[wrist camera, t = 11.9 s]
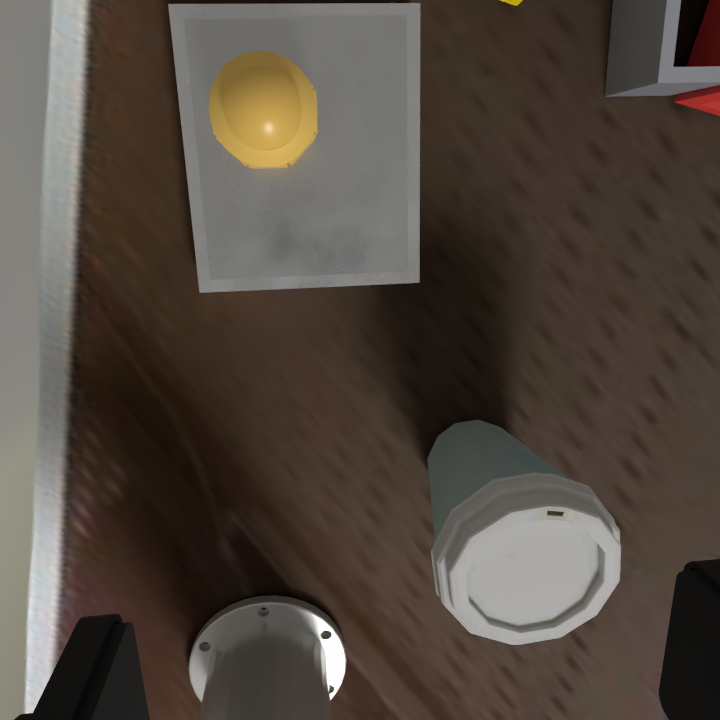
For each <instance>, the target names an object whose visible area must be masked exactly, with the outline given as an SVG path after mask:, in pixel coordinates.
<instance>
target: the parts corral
mask: <svg viewBox="0 0 720 720" xmlns="http://www.w3.org/2000/svg"><path fill="white" fill-rule="evenodd" d="M680 5H681V0H613V8H612V19H611V31H610V42H609V54H608V65H607V76H606V88H605V97H611V96H667V95H677V94H681V93H686V92H691V91H695V90H700V89H705V88H709V87H714V86H719V85H720V66H710V67H673V65H674V57H675V48H676V40H677V31H678V22H679V14H680Z"/></svg>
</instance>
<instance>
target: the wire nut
mask: <svg viewBox="0 0 720 720" xmlns="http://www.w3.org/2000/svg"><path fill="white" fill-rule="evenodd" d="M209 115H210V120H211V124H212V127H213V133H214V135H216V136H217V137H216V139H217V140H218V141H219V142H220V143H221V144H222V145H223V146H224V147H225V148H226V149H227V150H228V152H230V153H231V154H232V155H233V156H235V157H236V158H237V159H238V160H239V161H240V162H241V163H243V164H244V165H245V166H247V167H249V168H254V169H255V168H288V163H289V164H290V165H291V166H292V165H293V164H294V163H295V162H296V161H297V159H298V158H299V157H300V156H301V155H302V154H303V153H304V151H305V150H306V149H307V148H308V147H309V146H310V145H311V144H312V142H313V141H314V140H315V138H316V135H317V133H318V127H317V101H316V91H314V86H313V85H312V84H311V83H310V81H309V80H308V78H307V77H306V75H305V74H304V73H303V71H302V70H301V69H300V68H299V67H298V66H297V65H296V64H295V63H293V62H292V61H290V60H289V59H287V58H286V57H283V56H282V55H279V54H276V53H273V52H268V51H252V52H248V53H244V54H242V55H239V56H237V57H235V58H234V59H232V60H231V61H229V62H228V63H227V64H226V65H225V66H224V67H223V68H222V69H221V70H220V72H219V73H218V75H217V76H216V78H215V80H214V82H213V85H212V87H211V91H210V96H209Z"/></svg>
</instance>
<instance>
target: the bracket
mask: <svg viewBox="0 0 720 720" xmlns="http://www.w3.org/2000/svg"><path fill="white" fill-rule="evenodd" d="M710 66H720V0H709V3H708V6H707V9H706V12H705V15H704V17H703V20H702V23H701V26H700V29H699V32H698V35H697V37H696V40H695V43H694V46H693V49H692V52H691V55H690V57H689V60H688V63H687V66H686V67H710ZM674 102H675V103H679V104H682V105H685V106H689V107H692V108H695V109H698V110H702V111H705V112H708V113H712V114H715V115H718V116H720V85H719V86H714V87H709V88H705V89H700V90H695V91H691V92H686V93H681V94H677V95H676V98H675V100H674Z"/></svg>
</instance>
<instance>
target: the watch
mask: <svg viewBox="0 0 720 720" xmlns="http://www.w3.org/2000/svg"><path fill="white" fill-rule="evenodd" d="M500 1H503V2H506V3H509V4H512V5H515V6H516V5H518V4H519V3H520V2H522V1H523V0H500Z"/></svg>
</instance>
